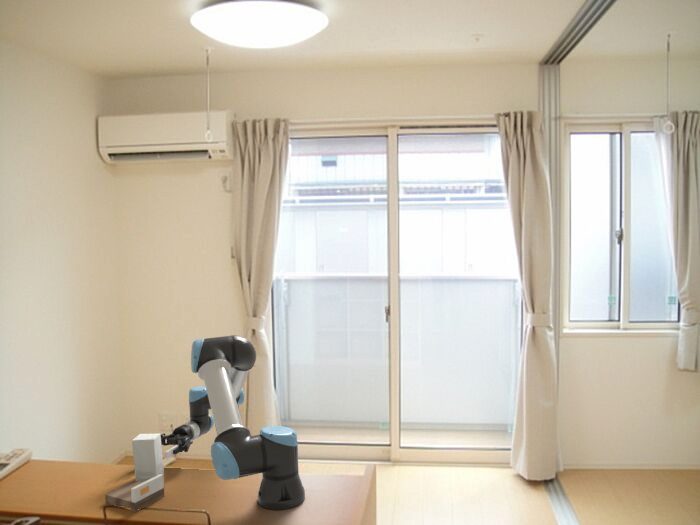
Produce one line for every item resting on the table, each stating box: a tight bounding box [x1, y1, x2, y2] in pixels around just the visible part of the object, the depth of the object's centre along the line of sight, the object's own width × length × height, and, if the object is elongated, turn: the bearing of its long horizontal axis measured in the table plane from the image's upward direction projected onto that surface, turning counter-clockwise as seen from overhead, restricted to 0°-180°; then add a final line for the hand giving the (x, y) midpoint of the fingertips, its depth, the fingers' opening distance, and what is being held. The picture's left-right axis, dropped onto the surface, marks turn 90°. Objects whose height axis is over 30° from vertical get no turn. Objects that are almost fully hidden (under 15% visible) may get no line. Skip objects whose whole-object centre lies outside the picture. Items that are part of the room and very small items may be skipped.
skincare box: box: [131, 433, 165, 482], centre depth 209 cm, size 8×7×16 cm
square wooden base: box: [104, 474, 165, 513], centre depth 193 cm, size 14×12×7 cm
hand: (150, 453), depth 211 cm, fingers open, 13 cm apart
